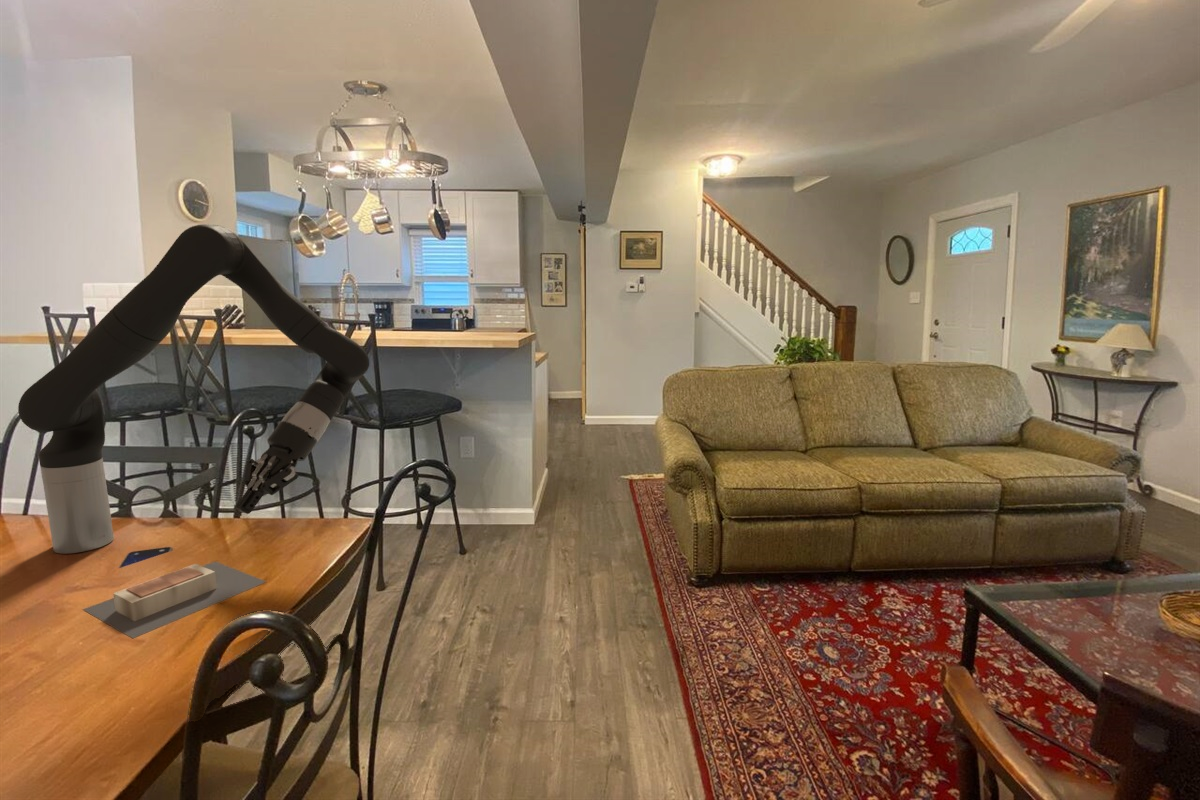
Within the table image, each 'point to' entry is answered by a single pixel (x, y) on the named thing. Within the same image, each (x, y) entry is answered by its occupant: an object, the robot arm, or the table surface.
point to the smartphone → (143, 555)
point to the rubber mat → (227, 587)
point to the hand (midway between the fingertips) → (241, 511)
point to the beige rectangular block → (164, 591)
